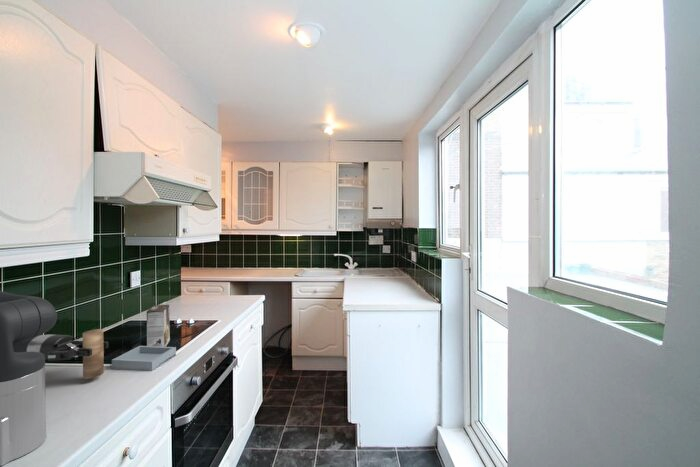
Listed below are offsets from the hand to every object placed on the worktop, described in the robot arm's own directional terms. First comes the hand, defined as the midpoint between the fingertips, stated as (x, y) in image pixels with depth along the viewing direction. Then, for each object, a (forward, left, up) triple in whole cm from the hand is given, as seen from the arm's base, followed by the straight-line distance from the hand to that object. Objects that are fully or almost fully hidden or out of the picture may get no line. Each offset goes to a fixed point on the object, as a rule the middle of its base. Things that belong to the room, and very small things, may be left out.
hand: (99, 348), depth 92 cm
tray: (+13, -5, -10) cm, 17 cm away
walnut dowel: (0, +2, -9) cm, 9 cm away
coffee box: (+27, +1, -11) cm, 29 cm away
